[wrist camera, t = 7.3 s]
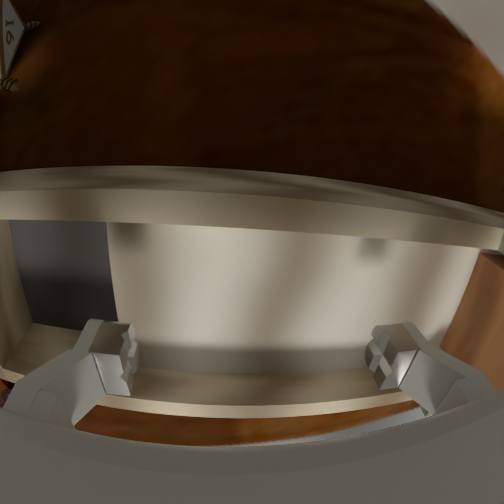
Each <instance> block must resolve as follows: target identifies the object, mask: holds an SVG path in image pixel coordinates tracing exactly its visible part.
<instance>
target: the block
mask: <svg viewBox="0 0 504 504" xmlns="http://www.w3.org/2000/svg"><path fill="white" fill-rule="evenodd" d="M440 347H441V348H442V350H443V351H444V352H446V353H447V354H449V355H451V356H453V357H455V358H457V359H459V360H461V361H463V362H464V363H466V364H468V365H470V366H472V367H474V368H476V369H478V370H479V371H481V372H482V373H483V374H484V375H485V377H486V378H487V379H488V381H489V382H490V383H491V385H492V386H493V387H494V389H495V390H496V391H498V390H500V389H502V388H504V255H496V254H487V253H479V254H478V257H477V260H476V263H475V266H474V269H473V271H472V274H471V277H470V279H469V282H468V284H467V287H466V289H465V292H464V294H463V297H462V299H461V301H460V304H459V306H458V308H457V311H456V313H455V315H454V317H453V319H452V322H451V324H450V326H449V328H448V330H447V332H446V334H445V336H444V338H443V340H442V342H441V344H440Z"/></svg>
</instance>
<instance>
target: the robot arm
mask: <svg viewBox="0 0 504 504" xmlns="http://www.w3.org/2000/svg"><path fill="white" fill-rule="evenodd" d="M135 334H136V333H135V328H134V325H133V324H132V323H124V322H115V321H107V320H97V319H90V320H88V321H87V323H86V325H85V327H84V329H83V330H82V332H81V334H80V336H79V338H78V340H77V342H76V344H75V346H74V348H73V350H69V349H68V350H67V351H65V352H64V353H62V354H60V355H59V356H57V357H55V358H54V359H52V360H50V361H49V362H47V363H45V364H44V365H42V366H40V367H39V368H37V369H36V370H34V371H32V372H31V373H29V374H27V375H26V376H24V377H22V378H21V379H19V380H18V381H16V383H15V385H14V387H13V389H12V391H11V393H10V395H9V396H8V398H7V400H6V402H5V404H4V406H3V408H2V407H0V504H504V388H502V389H500V390H498V391H496V390H495V389H494V387H493V386H492V385H491V383H490V382H489V381H488V379H487V378H486V377H485V375H484V374H483V373H482V372H481V371H479V370H478V369H476V368H474V367H472V366H470V365H468V364H466V363H464V362H463V361H461V360H459V359H457V358H455V357H453V356H451V355H449V354H447V353H446V352H444V351H442V350H440V349H438V348H436V347H433V348H432V346H431V345H430V344H429V342H428V341H427V340H426V338H425V337H424V336H423V335H422V333H421V332H420V331H419V330H418V328H417V327H416V326H415V325H414V323H412V322H402V323H396V324H384V325H376V326H375V327H374V328H373V330H372V333H371V335H372V338H373V339H372V340H371V341H370V342H369V343H368V344H367V346H366V349H365V361H366V364H367V366H368V368H369V369H370V370H372V371H373V372H374V375H373V378H374V380H375V382H376V384H377V386H378V388H379V390H383V389H390V388H396V387H399V389H401V390H402V391H403V392H404V393H406V394H407V395H408V396H409V397H411V398H412V399H413V400H414V401H416V402H417V403H418V404H419V405H421V406H422V407H423V408H424V409H426V410H427V411H428V412H430V413H431V414H432V416H429V417H426V418H423V419H420V420H416V421H412V422H409V423H405V424H401V425H398V426H394V427H390V428H386V429H381V430H377V431H373V432H368V433H363V434H358V435H353V436H347V437H341V438H336V439H329V440H323V441H315V442H306V443H296V444H287V445H272V446H252V447H201V446H181V445H168V444H157V443H148V442H140V441H132V440H125V439H119V438H113V437H107V436H102V435H97V434H92V433H87V432H82V431H78V430H76V429H75V427H74V425H75V424H76V423H77V422H78V421H79V420H80V419H81V418H82V417H83V416H84V415H85V414H87V413H88V412H89V411H90V410H91V409H92V408H93V407H94V406H95V405H96V404H97V403H98V402H99V401H100V400H101V399H102V398H103V397H104V396H105V395H106V394H115V395H124V396H131V392H132V388H133V384H134V378H133V374H134V373H135V372H136V371H137V367H138V360H139V351H138V344H137V343H136V342H135V341H134V337H135Z"/></svg>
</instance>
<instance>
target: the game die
mask: <svg viewBox="0 0 504 504" xmlns="http://www.w3.org/2000/svg"><path fill="white" fill-rule="evenodd" d="M39 24H40V22H38V21H36V20H35V19H34V20H33V21H29V22H28V23H27V24H25V23H24V22H23V20H22V18H21V16H20V14H19V13H18V11H17V9H16V7H15V5H14V4H13V2H12V0H0V89H1V88H2V87H4V89H5V90H6V91H9V92H10V93H12V92H13V91H16V90H20V89H19V86H18V84H17V79H16V80H13V78H11V79H7V78H8V74H9V71H10V68H11V65H12V62H13V60H14V57H15V54H16V51H17V49H18V46H19V44H20V41H21V39H22V36H23V34H24V31H25V30H31V29H35V28H36V27H37V26H38V25H39Z"/></svg>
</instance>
